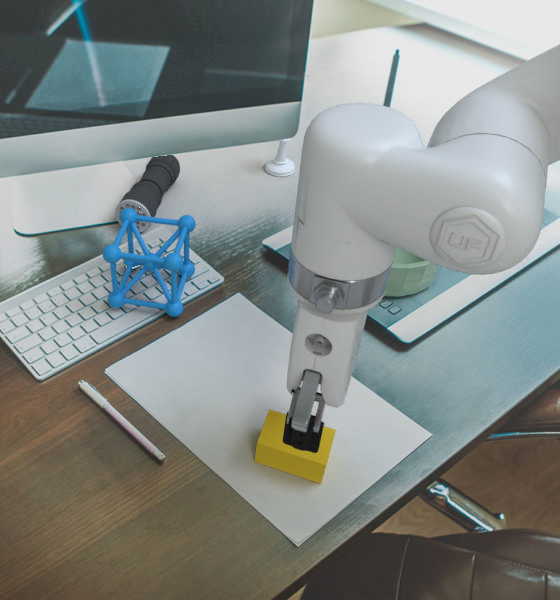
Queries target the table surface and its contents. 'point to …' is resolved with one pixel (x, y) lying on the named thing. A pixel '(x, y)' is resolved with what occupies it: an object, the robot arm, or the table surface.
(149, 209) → the flashlight
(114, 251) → the molecular structure
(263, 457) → the sponge
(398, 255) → the bowl
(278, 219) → the table surface
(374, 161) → the robot arm
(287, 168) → the chess piece
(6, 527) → the table surface
